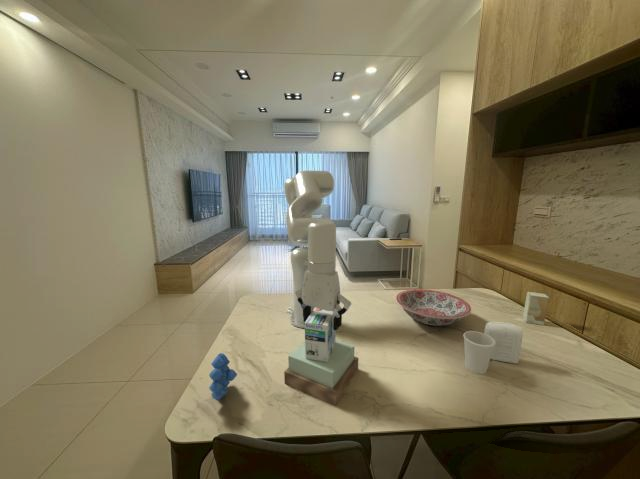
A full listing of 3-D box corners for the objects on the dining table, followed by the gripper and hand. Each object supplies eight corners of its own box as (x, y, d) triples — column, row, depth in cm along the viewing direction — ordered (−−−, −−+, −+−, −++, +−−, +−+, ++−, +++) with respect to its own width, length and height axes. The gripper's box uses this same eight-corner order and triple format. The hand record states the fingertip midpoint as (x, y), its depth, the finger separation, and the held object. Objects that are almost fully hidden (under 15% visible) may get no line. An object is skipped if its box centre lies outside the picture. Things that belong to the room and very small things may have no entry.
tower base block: (284, 385, 74) (284, 371, 73) (313, 355, 88) (313, 343, 87) (335, 407, 67) (335, 392, 66) (358, 371, 80) (358, 357, 80)
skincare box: (525, 322, 108) (529, 295, 106) (522, 318, 112) (526, 291, 110) (545, 325, 106) (549, 297, 104) (540, 321, 110) (545, 293, 108)
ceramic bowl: (468, 312, 118) (470, 295, 116) (470, 345, 92) (473, 324, 91) (401, 300, 131) (402, 285, 130) (388, 326, 106) (388, 307, 104)
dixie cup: (474, 356, 86) (477, 328, 84) (498, 373, 78) (502, 342, 77) (454, 362, 83) (457, 333, 82) (477, 379, 76) (480, 348, 74)
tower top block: (288, 370, 74) (288, 355, 73) (314, 345, 86) (314, 333, 85) (332, 388, 67) (332, 373, 66) (354, 359, 79) (354, 345, 78)
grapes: (234, 412, 65) (231, 368, 62) (205, 415, 64) (201, 371, 62) (242, 379, 76) (239, 341, 74) (217, 381, 75) (214, 343, 73)
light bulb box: (328, 363, 70) (328, 326, 68) (304, 359, 72) (303, 322, 70) (336, 341, 80) (336, 308, 78) (315, 338, 82) (314, 306, 80)
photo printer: (515, 357, 86) (520, 322, 84) (520, 365, 82) (526, 329, 80) (479, 351, 89) (483, 317, 87) (483, 359, 85) (487, 324, 83)
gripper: (288, 265, 73) (289, 322, 76) (345, 275, 64) (344, 338, 68) (302, 259, 79) (303, 311, 82) (356, 267, 71) (354, 325, 74)
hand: (321, 323), depth 75 cm, fingers open, 9 cm apart
